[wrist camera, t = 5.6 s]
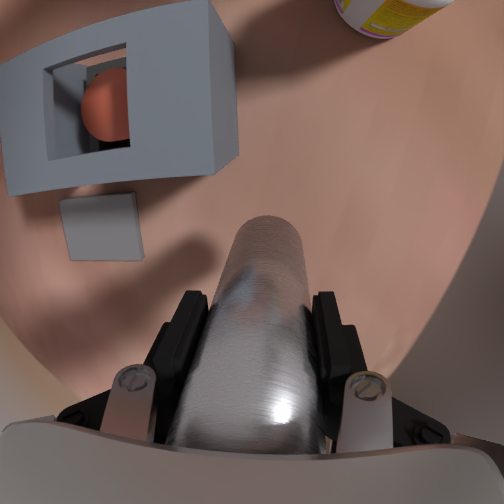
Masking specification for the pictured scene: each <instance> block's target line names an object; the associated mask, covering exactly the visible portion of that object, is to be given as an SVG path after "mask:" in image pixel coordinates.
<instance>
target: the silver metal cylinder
mask: <svg viewBox="0 0 504 504" xmlns="http://www.w3.org/2000/svg"><path fill="white" fill-rule="evenodd" d="M165 445H171V446H177V447H185V448H192V449H200V450H209V451H219V452H231V453H247V454H273V455H307V454H326V441H325V429H324V417H323V406H322V395H321V390H320V381H319V371H318V362H317V353H316V344H315V335H314V327H313V319H312V308H311V301H310V293H309V286H308V279H307V272H306V265H305V259H304V252H303V246H302V240H301V237H300V235H299V233H298V231H297V230H296V229H295V227H294V226H293V225H291V224H290V223H289V222H287V221H286V220H284V219H282V218H279V217H276V216H259V217H256V218H253V219H251V220H249V221H247V222H246V223H245V224H244V225H242V226H241V228H240V229H239V230H238V232H237V234H236V236H235V238H234V241H233V244H232V247H231V250H230V252H229V255H228V258H227V261H226V264H225V266H224V269H223V272H222V275H221V278H220V281H219V284H218V286H217V289H216V292H215V295H214V298H213V301H212V304H211V307H210V309H209V312H208V315H207V318H206V321H205V324H204V327H203V330H202V333H201V336H200V339H199V342H198V345H197V347H196V350H195V353H194V356H193V359H192V362H191V365H190V368H189V371H188V374H187V377H186V380H185V383H184V386H183V389H182V392H181V395H180V399H179V402H178V405H177V408H176V411H175V414H174V417H173V420H172V423H171V426H170V429H169V432H168V436H167V439H166V442H165Z"/></svg>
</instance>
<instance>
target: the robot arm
mask: <svg viewBox="0 0 504 504" xmlns="http://www.w3.org/2000/svg"><path fill="white" fill-rule="evenodd" d="M208 312H209V310H208V302H207V296H206V295H203V294H202V292H201V291H191V290H187V291H186V292H185V294H184V296H183V298H182V300H181V302H180V304H179V306H178V308H177V310H176V312H175V314H174V316H173V318H172V320H171V322H165V323H164V324H163V325H162V327H161V329H160V331H159V333H158V335H157V337H156V339H155V341H154V343H153V345H152V347H151V349H150V351H149V353H148V355H147V357H146V359H145V361H144V363H143V365H142V364H134V365H130V366H127V367H125V368H123V369H121V370H120V371H119V372H118V373H117V374H116V376H115V378H114V381H113V384H112V388H111V389H110V390H107V391H105V392H103V393H100V394H98V395H96V396H93V397H91V398H89V399H86V400H84V401H81V402H79V403H77V404H74V405H72V406H69V407H68V408H66V409H64V410H63V411H62V412H61V413H60V414H59V415H58V417H57V418H55V416H54V415H51V416H45V417H40V418H35V419H30V420H25V421H18V422H14V423H11V424H9V425H7V426H6V427H5V429H4V430H3V431H2V434H1V435H0V504H504V445H502V444H499V443H494V442H490V441H486V440H482V439H478V438H475V437H471V436H467V435H464V434H460V433H456V435H452V434H450V433H449V430H448V429H447V428H446V426H445V425H443V424H442V423H440V422H438V421H437V420H434V419H433V418H431V417H429V416H427V415H425V414H423V413H421V412H419V411H417V410H416V409H414V408H412V407H410V406H408V405H406V404H404V403H403V402H401V401H399V400H397V399H395V398H393V397H391V387H390V383H389V382H388V380H387V379H386V378H385V377H384V376H382V375H381V374H378V373H376V372H371V371H368V370H367V366H366V363H365V359H364V355H363V352H362V348H361V345H360V341H359V338H358V334H357V331H356V328H355V326H354V325H342V323H341V319H340V315H339V311H338V307H337V303H336V299H335V295H334V292H333V291H329V292H319V293H318V295H313V304H312V319H313V327H314V335H315V344H316V353H317V362H318V371H319V381H320V390H321V395H322V406H323V417H324V429H325V435H326V436H327V437H329V438H330V439H331V445H330V451H329V454H307V455H273V454H247V453H231V452H219V451H209V450H200V449H192V448H185V447H177V446H171V445H165V442H166V439H167V436H168V432H169V429H170V426H171V423H172V420H173V417H174V414H175V411H176V408H177V405H178V402H179V399H180V395H181V392H182V389H183V386H184V383H185V380H186V377H187V374H188V371H189V368H190V365H191V362H192V359H193V356H194V353H195V350H196V347H197V345H198V342H199V339H200V336H201V333H202V330H203V327H204V324H205V321H206V318H207V315H208Z"/></svg>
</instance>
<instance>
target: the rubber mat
mask: <svg viewBox="0 0 504 504" xmlns="http://www.w3.org/2000/svg"><path fill="white" fill-rule="evenodd" d="M59 206H60V211H61V217H62V222H63V227H64V232H65V236H66V241H67V246H68V250H69V254H70V258H71V260H114V261H141V260H142V259H143V258H144V251H143V245H142V238H141V232H140V225H139V218H138V211H137V204H136V196H135V192H125V193H114V194H103V195H93V196H83V197H74V198H65V199H62V200H59Z"/></svg>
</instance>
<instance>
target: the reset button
mask: <svg viewBox="0 0 504 504" xmlns="http://www.w3.org/2000/svg"><path fill="white" fill-rule="evenodd" d="M81 115H82V120H83V123H84V125H85V127H86V129H87V130H88V131H89V132H90V134H91V135H93V136H94V137H95V138H97V139H99V140H102V141H109V142H111V141H118V140H124V139H130V133H129V118H128V100H127V69H124V68H112V69H108V70H106V71H103V72H102V73H100V74H98V75H97V76H96V77H95V78H94V79H93V80H92V81H91V82H90V84H89V85H88V87H87V88H86V90H85V92H84V95H83V98H82V103H81Z"/></svg>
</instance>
